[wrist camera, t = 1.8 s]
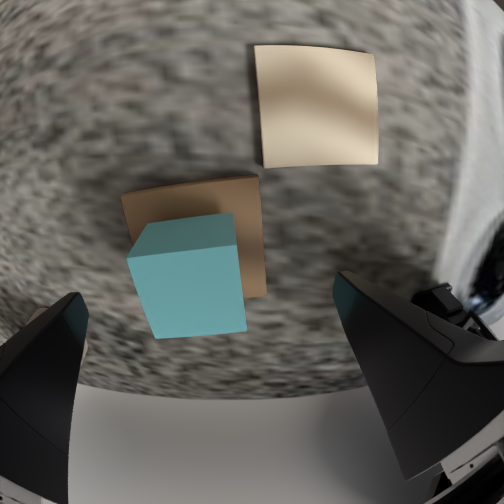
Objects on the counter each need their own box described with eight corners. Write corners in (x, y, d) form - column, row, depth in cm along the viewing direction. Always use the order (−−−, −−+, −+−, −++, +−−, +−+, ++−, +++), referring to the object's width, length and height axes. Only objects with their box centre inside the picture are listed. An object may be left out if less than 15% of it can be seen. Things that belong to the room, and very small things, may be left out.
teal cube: (241, 286, 21) (247, 330, 17) (166, 293, 21) (155, 338, 16) (233, 212, 18) (236, 244, 14) (147, 223, 18) (125, 258, 14)
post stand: (265, 288, 24) (276, 337, 19) (154, 300, 23) (140, 348, 18) (257, 174, 19) (270, 197, 14) (124, 193, 19) (92, 222, 13)
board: (374, 162, 19) (377, 164, 19) (263, 167, 19) (264, 168, 18) (369, 55, 15) (373, 54, 15) (253, 47, 15) (254, 45, 14)
